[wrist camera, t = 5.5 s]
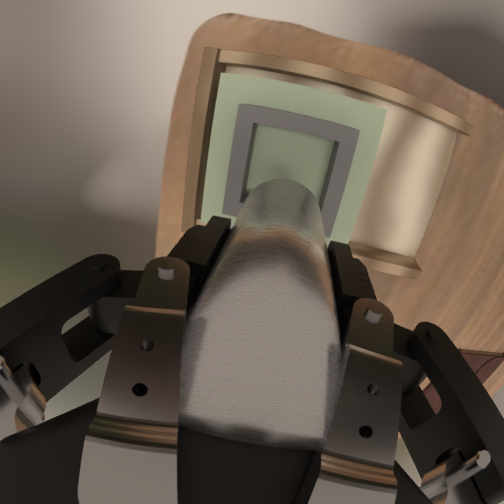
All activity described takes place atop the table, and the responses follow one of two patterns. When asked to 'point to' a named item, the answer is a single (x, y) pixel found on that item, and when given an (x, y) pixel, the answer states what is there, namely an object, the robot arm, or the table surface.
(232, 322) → the handle
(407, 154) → the bay
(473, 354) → the notebook
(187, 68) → the table surface
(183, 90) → the table surface
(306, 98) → the green stepped block
